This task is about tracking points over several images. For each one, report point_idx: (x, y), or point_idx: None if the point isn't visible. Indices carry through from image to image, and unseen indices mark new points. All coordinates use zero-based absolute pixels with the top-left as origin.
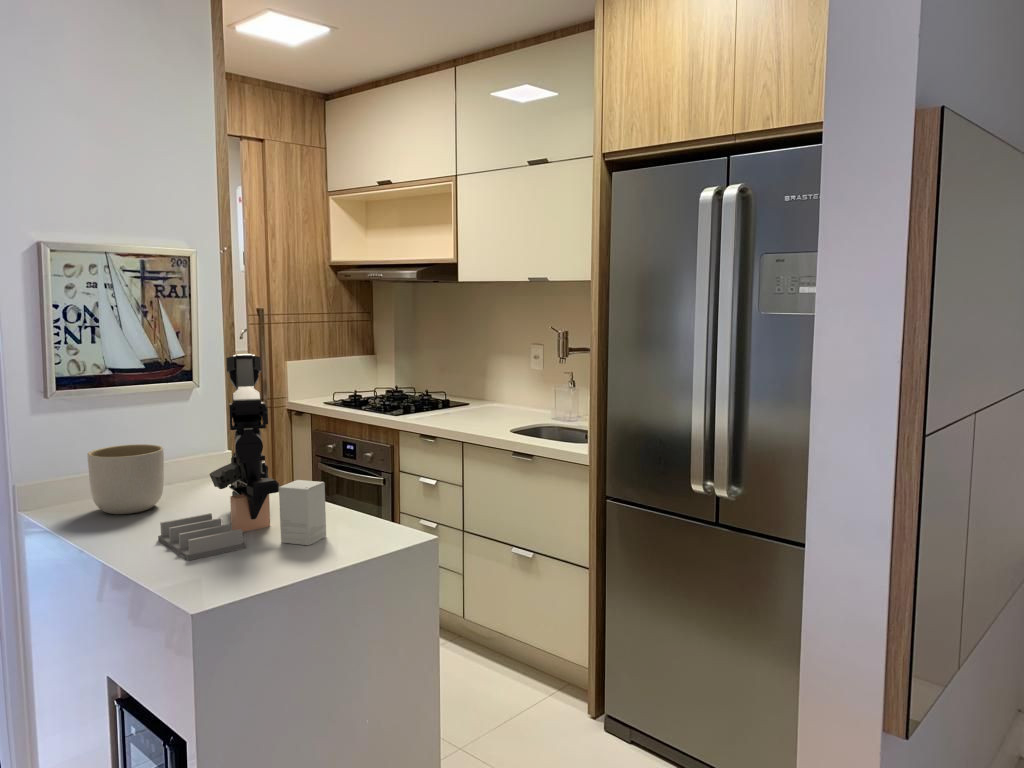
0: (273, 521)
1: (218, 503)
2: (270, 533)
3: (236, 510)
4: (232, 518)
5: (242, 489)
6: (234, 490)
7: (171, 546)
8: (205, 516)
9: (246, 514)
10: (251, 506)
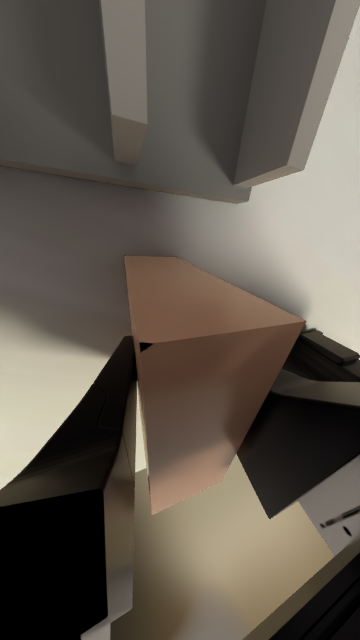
0: None
1: (353, 318)
2: (41, 350)
3: (129, 286)
4: (179, 266)
5: (302, 448)
6: (353, 403)
7: None
8: (295, 105)
9: (132, 330)
10: (90, 390)
